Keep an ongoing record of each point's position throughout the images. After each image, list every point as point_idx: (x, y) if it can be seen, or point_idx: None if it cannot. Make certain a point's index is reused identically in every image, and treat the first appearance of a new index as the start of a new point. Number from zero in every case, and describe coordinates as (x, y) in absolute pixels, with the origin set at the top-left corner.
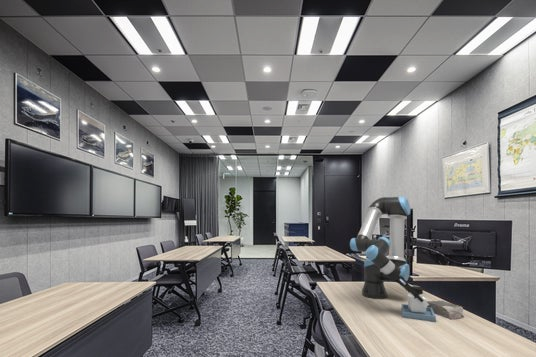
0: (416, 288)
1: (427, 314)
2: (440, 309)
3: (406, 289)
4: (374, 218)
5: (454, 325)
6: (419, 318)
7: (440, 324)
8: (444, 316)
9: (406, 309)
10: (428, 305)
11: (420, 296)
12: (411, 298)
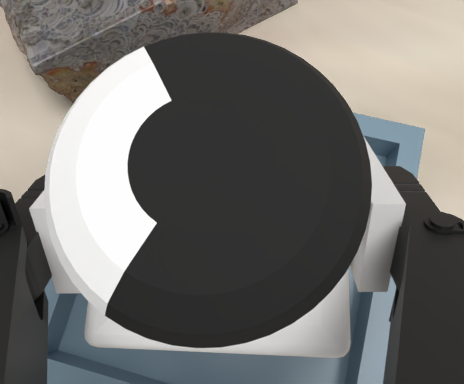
0: (354, 204)
1: None
2: (207, 7)
3: (46, 382)
4: None
5: (440, 28)
6: None
7: (454, 129)
8: (244, 25)
9: None
10: (74, 75)
11: (390, 189)
12: (345, 351)
